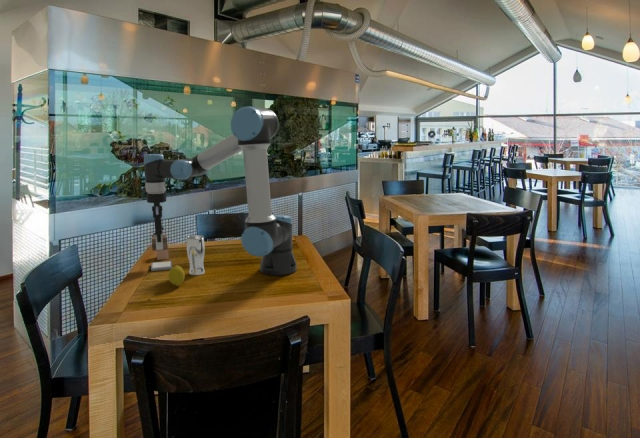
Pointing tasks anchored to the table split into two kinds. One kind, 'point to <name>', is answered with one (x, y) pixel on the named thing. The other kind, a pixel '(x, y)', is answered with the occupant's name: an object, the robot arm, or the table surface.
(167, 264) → the slate picture frame
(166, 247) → the walnut block
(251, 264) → the table surface
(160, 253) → the terracotta cube
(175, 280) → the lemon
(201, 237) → the beer glass
